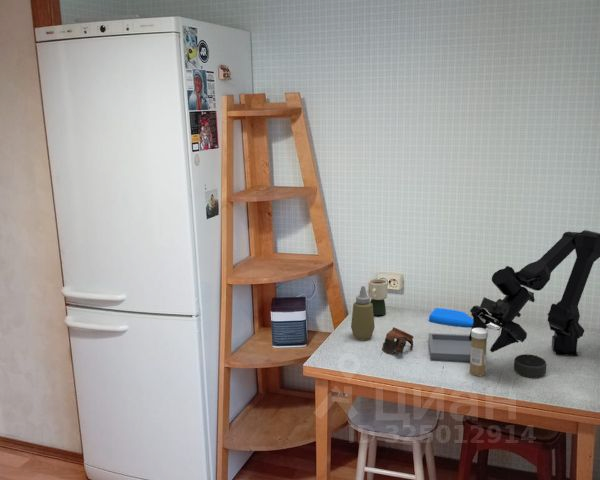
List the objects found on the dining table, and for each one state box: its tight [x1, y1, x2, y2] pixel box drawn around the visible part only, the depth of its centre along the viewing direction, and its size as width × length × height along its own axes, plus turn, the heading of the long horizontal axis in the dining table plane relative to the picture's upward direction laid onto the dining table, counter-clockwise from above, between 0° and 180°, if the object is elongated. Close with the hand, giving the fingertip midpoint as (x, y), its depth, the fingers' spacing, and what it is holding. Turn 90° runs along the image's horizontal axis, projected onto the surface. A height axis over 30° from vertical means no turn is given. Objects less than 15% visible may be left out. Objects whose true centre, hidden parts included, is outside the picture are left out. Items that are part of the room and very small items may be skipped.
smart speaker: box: [513, 353, 548, 379], centre depth 172 cm, size 9×9×4 cm
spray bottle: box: [428, 307, 501, 331], centre depth 211 cm, size 3×11×24 cm
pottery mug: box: [381, 327, 414, 356], centre depth 188 cm, size 12×10×8 cm
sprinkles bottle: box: [469, 328, 489, 377], centre depth 170 cm, size 5×5×13 cm
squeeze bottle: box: [350, 285, 376, 341], centre depth 198 cm, size 8×8×18 cm
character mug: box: [367, 278, 389, 316], centre depth 220 cm, size 11×7×13 cm, turn 153°
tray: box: [428, 332, 471, 363], centre depth 187 cm, size 16×16×2 cm
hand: (480, 345), depth 170 cm, fingers open, 9 cm apart
